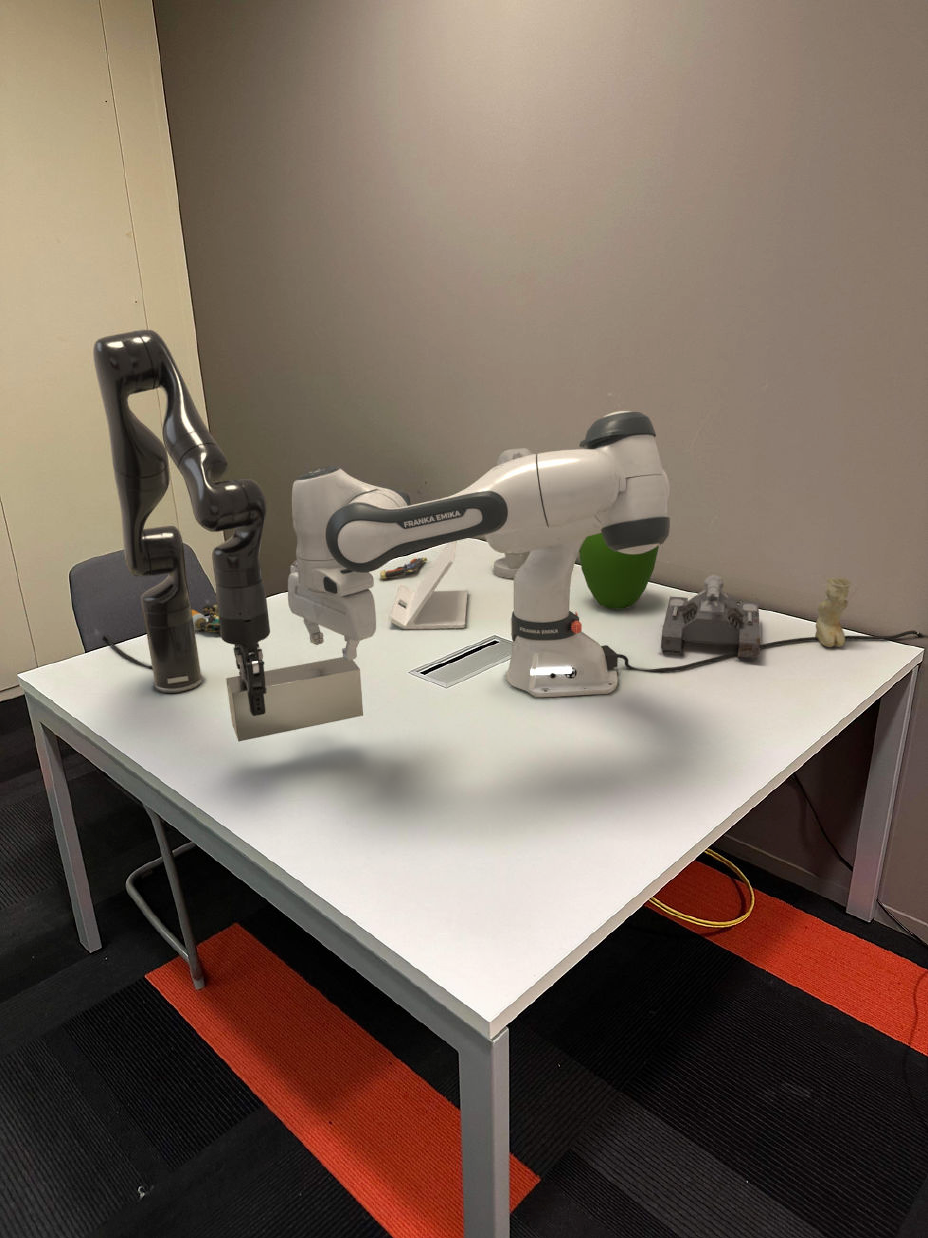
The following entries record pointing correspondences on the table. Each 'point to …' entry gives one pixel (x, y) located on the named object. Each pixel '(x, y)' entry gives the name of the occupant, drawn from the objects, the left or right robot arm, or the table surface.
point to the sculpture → (832, 613)
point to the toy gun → (403, 568)
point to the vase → (615, 572)
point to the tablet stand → (431, 599)
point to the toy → (712, 621)
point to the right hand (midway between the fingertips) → (333, 650)
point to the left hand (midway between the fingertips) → (254, 705)
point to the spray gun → (201, 622)
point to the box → (298, 698)
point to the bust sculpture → (512, 560)
